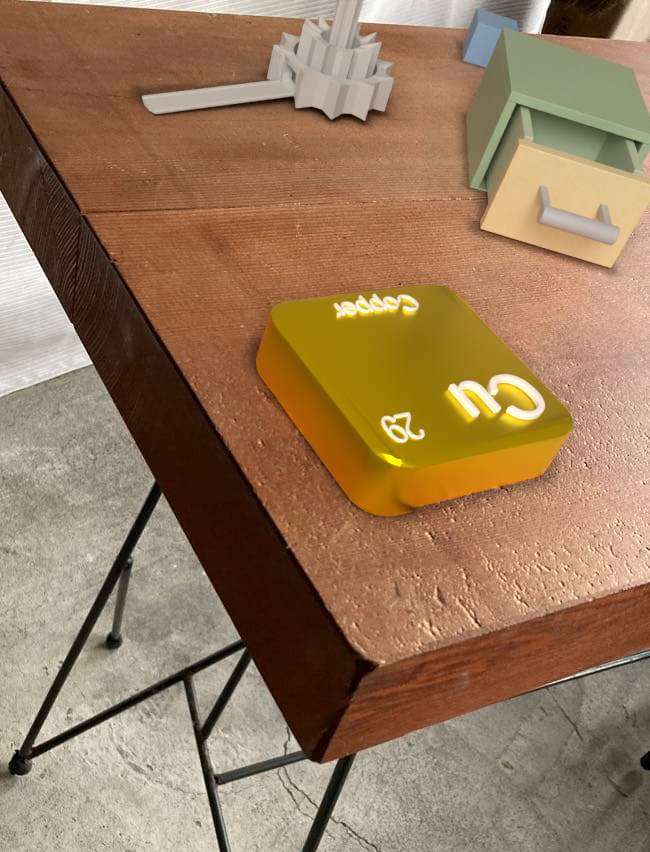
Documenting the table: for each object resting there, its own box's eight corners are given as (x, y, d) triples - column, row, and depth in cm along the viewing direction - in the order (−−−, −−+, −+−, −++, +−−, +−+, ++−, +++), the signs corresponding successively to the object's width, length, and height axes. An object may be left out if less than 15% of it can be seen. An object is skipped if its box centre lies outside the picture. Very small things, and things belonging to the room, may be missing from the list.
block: (499, 63, 109) (517, 20, 106) (501, 79, 106) (519, 35, 102) (460, 51, 108) (476, 7, 105) (460, 66, 105) (478, 22, 102)
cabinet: (601, 234, 86) (657, 136, 80) (466, 193, 85) (511, 90, 79) (584, 160, 96) (632, 68, 90) (463, 123, 95) (503, 26, 89)
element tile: (424, 330, 69) (450, 272, 66) (556, 478, 62) (593, 421, 58) (242, 356, 62) (260, 293, 59) (365, 527, 55) (395, 466, 51)
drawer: (618, 301, 77) (669, 218, 72) (481, 260, 76) (523, 173, 71) (592, 191, 90) (634, 114, 85) (475, 155, 89) (510, 75, 84)
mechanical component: (132, 111, 83) (153, -88, 72) (320, 59, 97) (363, -114, 86) (225, 176, 79) (263, -24, 68) (407, 111, 93) (463, -63, 82)
